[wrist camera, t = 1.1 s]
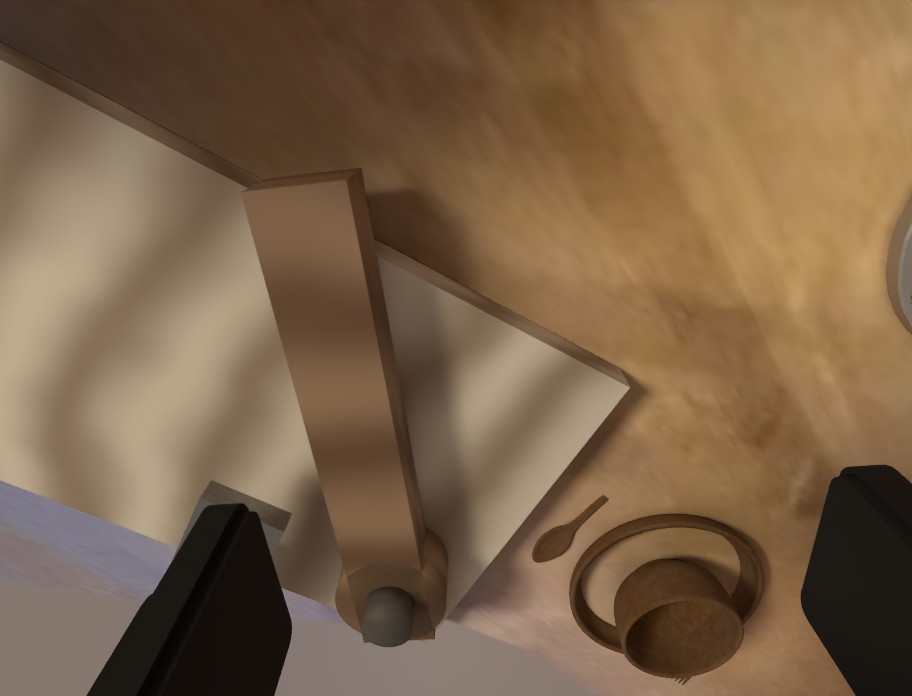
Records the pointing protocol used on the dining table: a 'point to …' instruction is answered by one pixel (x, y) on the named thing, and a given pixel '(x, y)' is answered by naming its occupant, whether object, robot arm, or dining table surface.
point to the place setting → (664, 600)
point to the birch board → (237, 350)
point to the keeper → (269, 515)
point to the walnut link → (350, 398)
